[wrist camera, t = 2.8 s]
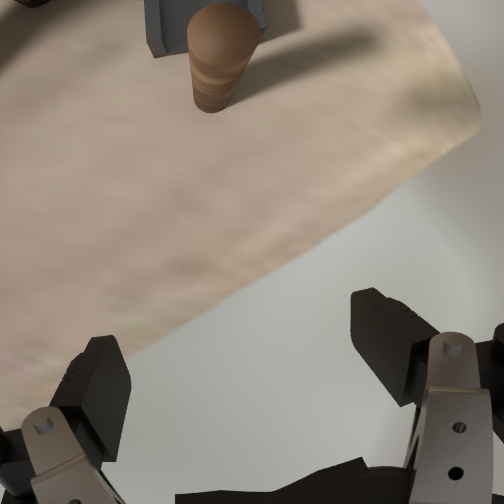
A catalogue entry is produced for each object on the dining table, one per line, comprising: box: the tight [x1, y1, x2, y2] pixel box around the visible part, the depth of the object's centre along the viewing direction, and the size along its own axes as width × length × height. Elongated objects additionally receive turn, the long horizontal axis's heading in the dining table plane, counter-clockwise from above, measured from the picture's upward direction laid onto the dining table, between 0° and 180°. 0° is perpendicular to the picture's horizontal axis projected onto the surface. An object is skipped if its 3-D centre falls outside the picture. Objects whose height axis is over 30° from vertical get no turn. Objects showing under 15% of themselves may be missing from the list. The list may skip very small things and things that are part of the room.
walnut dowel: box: [187, 3, 261, 113], centre depth 24 cm, size 4×4×20 cm
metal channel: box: [144, 0, 267, 58], centre depth 27 cm, size 12×10×6 cm
